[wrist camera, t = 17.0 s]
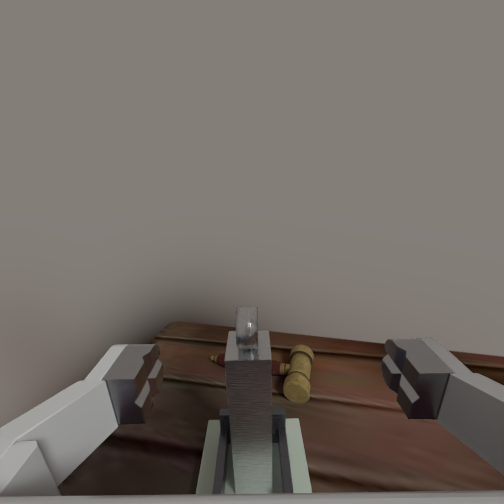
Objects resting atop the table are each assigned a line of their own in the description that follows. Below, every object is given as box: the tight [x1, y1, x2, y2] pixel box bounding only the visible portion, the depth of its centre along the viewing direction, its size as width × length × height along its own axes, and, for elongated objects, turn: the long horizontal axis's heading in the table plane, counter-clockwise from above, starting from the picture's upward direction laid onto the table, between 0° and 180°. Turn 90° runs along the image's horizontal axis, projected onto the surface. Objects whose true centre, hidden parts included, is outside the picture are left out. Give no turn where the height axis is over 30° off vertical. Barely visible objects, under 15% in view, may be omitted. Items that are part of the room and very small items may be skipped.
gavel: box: [211, 345, 314, 403], centre depth 49 cm, size 21×5×10 cm
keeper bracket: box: [196, 407, 312, 494], centre depth 31 cm, size 14×14×7 cm
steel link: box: [224, 307, 272, 494], centre depth 27 cm, size 4×4×24 cm
